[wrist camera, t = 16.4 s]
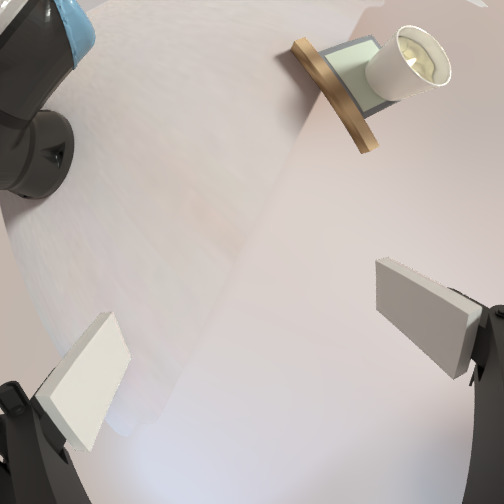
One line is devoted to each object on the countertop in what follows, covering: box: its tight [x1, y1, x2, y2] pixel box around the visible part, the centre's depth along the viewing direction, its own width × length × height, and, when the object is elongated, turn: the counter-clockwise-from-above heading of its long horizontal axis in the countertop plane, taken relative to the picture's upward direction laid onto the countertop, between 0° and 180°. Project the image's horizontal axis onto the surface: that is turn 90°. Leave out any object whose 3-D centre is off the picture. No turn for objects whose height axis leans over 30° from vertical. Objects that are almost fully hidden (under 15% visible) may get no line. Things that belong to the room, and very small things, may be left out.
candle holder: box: [365, 25, 451, 101], centre depth 30 cm, size 10×10×12 cm
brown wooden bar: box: [291, 37, 379, 154], centre depth 35 cm, size 20×2×3 cm, turn 32°
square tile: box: [318, 35, 403, 119], centre depth 36 cm, size 13×13×1 cm
